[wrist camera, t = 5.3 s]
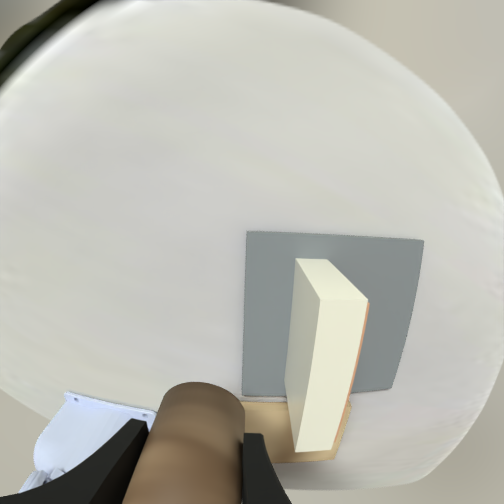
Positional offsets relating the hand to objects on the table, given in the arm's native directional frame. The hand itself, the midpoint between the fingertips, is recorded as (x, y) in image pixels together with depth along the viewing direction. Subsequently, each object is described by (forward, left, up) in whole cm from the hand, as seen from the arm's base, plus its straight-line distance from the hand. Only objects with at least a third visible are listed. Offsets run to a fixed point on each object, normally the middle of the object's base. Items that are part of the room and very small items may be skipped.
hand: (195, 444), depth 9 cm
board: (+5, -10, -10) cm, 15 cm away
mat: (+7, 0, -10) cm, 13 cm away
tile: (+5, 0, -10) cm, 11 cm away
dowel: (0, 0, -2) cm, 2 cm away
